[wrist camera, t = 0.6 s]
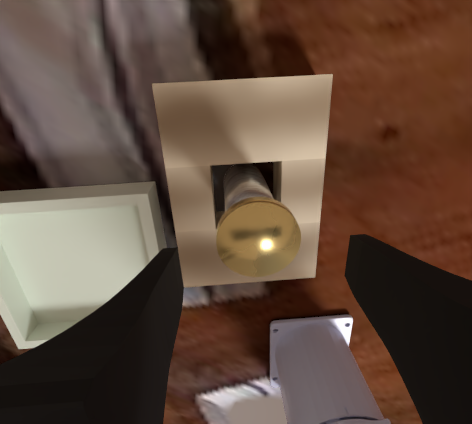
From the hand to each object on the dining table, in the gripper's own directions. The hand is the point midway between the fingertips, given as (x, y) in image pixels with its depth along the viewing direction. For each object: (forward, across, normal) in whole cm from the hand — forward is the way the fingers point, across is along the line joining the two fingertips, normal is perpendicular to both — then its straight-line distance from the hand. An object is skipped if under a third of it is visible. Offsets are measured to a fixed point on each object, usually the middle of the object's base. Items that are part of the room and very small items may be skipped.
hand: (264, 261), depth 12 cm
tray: (+10, +13, +6) cm, 18 cm away
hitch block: (+10, 0, 0) cm, 10 cm away
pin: (+10, 0, 0) cm, 10 cm away
